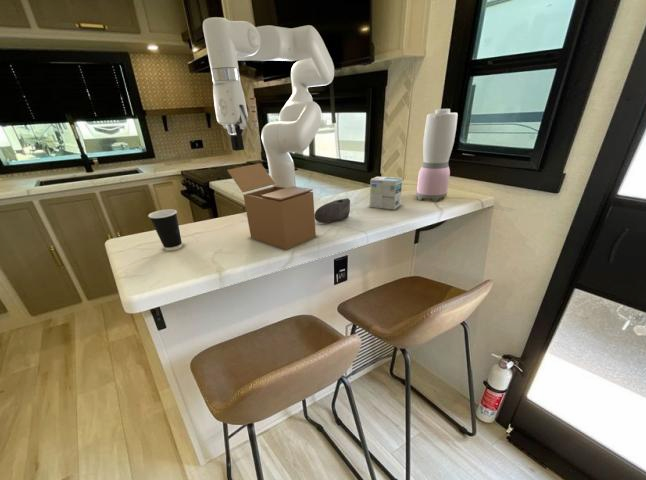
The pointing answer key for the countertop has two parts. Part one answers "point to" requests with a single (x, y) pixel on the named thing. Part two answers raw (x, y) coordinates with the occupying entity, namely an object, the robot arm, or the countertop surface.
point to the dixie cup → (167, 228)
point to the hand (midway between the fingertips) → (238, 149)
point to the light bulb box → (385, 192)
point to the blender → (436, 154)
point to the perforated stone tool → (333, 211)
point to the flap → (251, 177)
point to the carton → (281, 215)
